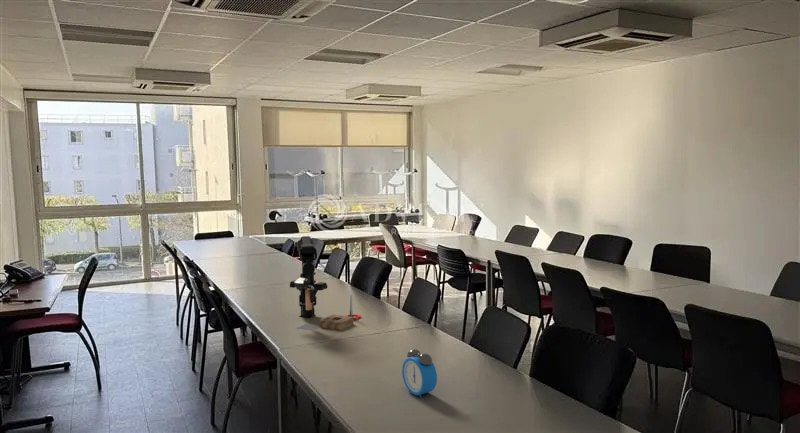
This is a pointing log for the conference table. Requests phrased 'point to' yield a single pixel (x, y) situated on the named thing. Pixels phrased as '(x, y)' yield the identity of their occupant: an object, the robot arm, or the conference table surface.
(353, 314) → the tow hook
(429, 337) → the conference table surface
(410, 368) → the alarm clock
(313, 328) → the mat
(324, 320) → the socket block
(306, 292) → the peg
